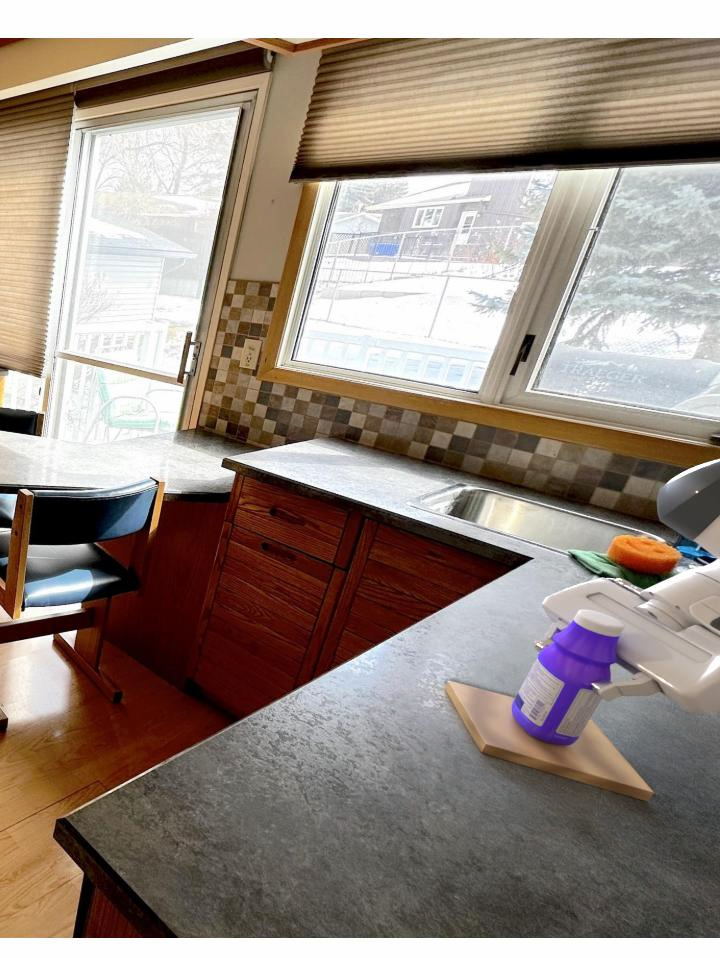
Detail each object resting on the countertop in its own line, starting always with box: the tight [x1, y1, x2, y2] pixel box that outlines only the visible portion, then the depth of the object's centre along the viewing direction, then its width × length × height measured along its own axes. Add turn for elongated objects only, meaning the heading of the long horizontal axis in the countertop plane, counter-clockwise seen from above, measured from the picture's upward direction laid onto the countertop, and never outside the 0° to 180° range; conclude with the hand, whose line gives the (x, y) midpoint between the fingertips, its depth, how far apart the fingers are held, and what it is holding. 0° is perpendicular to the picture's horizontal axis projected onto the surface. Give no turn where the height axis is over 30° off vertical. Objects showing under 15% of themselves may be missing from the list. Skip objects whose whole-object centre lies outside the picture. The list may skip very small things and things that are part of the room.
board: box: [444, 680, 655, 803], centre depth 81 cm, size 16×14×2 cm
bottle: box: [512, 610, 625, 745], centre depth 77 cm, size 7×6×17 cm
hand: (566, 671), depth 77 cm, fingers closed on bottle, 7 cm apart
